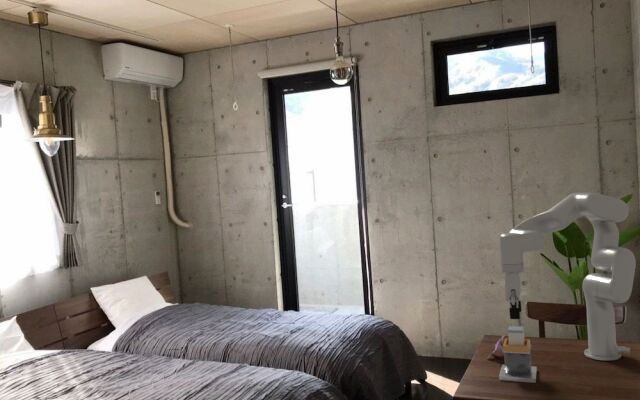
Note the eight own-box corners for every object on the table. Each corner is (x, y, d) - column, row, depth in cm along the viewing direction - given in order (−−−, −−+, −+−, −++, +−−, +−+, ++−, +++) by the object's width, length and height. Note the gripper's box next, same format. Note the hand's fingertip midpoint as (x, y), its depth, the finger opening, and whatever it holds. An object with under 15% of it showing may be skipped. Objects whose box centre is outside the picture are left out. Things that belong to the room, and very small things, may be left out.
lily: (504, 353, 230) (490, 333, 231) (525, 348, 220) (511, 327, 221) (488, 370, 223) (474, 349, 224) (509, 365, 213) (495, 343, 214)
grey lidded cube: (524, 345, 203) (523, 326, 203) (524, 350, 199) (522, 330, 198) (509, 345, 205) (508, 326, 205) (509, 349, 200) (508, 330, 200)
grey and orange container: (536, 370, 206) (535, 338, 205) (535, 382, 194) (533, 348, 194) (502, 368, 210) (500, 336, 210) (499, 380, 199) (497, 346, 199)
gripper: (503, 263, 210) (506, 308, 211) (499, 272, 194) (502, 321, 195) (524, 263, 207) (528, 309, 208) (522, 272, 191) (525, 322, 192)
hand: (515, 315), depth 201 cm, fingers open, 9 cm apart
